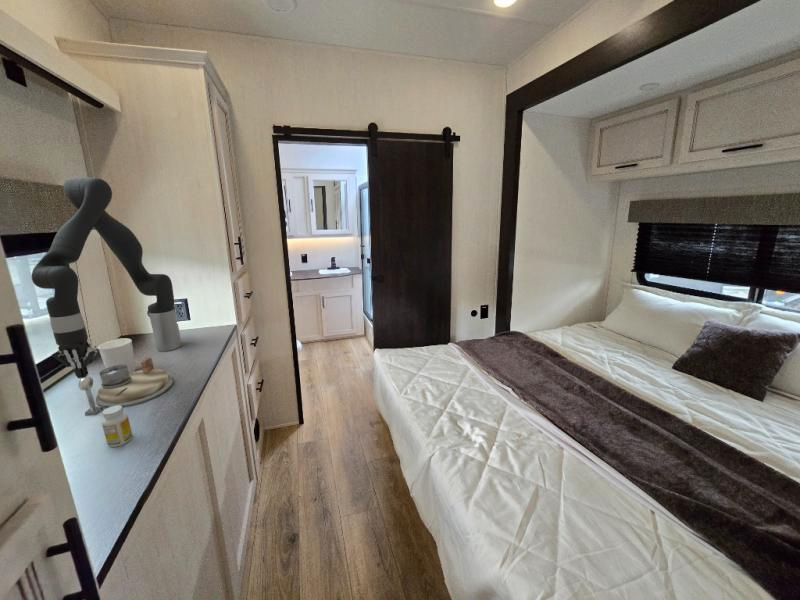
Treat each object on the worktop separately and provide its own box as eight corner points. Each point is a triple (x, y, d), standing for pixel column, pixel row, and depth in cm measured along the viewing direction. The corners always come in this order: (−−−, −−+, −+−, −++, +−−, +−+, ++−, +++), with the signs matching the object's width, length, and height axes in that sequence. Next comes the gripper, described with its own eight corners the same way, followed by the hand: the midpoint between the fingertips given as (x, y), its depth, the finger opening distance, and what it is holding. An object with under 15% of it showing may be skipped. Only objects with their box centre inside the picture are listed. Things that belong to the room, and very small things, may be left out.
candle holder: (120, 379, 124) (112, 349, 121) (98, 377, 126) (90, 347, 123) (144, 367, 133) (138, 339, 130) (124, 365, 135) (117, 337, 132)
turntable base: (124, 377, 126) (123, 375, 126) (184, 374, 128) (183, 371, 128) (78, 410, 106) (78, 407, 105) (150, 405, 108) (150, 403, 107)
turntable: (125, 374, 125) (121, 358, 123) (180, 371, 127) (177, 355, 125) (83, 404, 106) (78, 386, 105) (148, 400, 108) (144, 382, 106)
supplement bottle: (110, 450, 88) (101, 418, 86) (105, 441, 92) (96, 410, 89) (135, 439, 92) (127, 408, 90) (130, 431, 95) (122, 401, 93)
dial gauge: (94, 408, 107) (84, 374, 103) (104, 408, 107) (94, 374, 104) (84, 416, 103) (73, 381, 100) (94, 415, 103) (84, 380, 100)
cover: (112, 378, 119) (109, 364, 117) (136, 376, 119) (133, 363, 118) (96, 389, 111) (92, 375, 110) (121, 388, 112) (118, 374, 111)
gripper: (100, 323, 113) (112, 370, 118) (56, 325, 112) (70, 373, 116) (82, 331, 106) (95, 381, 110) (35, 333, 105) (51, 384, 109)
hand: (82, 377), depth 113 cm, fingers closed
